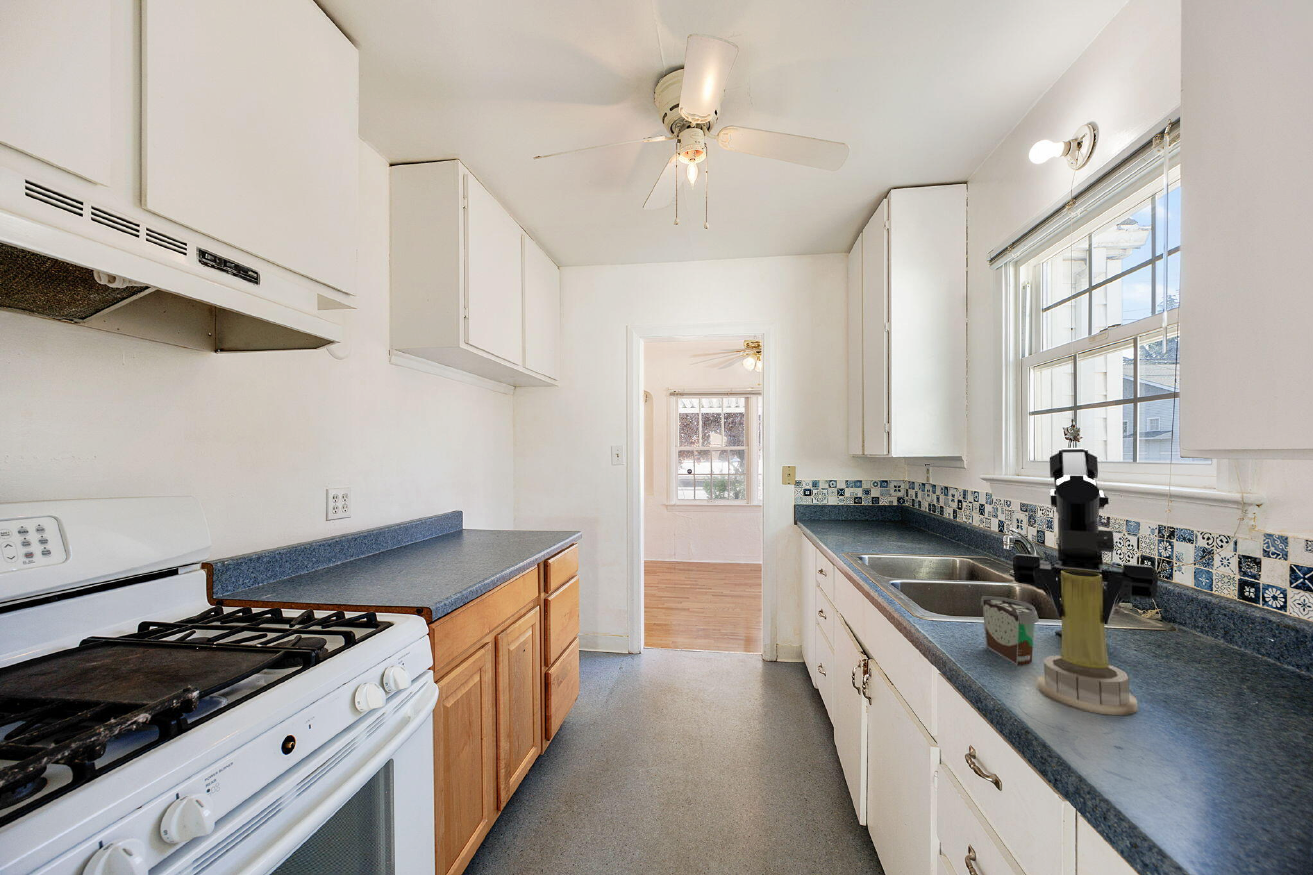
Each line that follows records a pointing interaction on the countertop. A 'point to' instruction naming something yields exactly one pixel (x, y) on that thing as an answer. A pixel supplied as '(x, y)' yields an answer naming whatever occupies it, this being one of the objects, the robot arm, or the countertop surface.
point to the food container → (1009, 628)
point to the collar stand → (1087, 687)
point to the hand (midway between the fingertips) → (1082, 619)
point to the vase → (1083, 619)
